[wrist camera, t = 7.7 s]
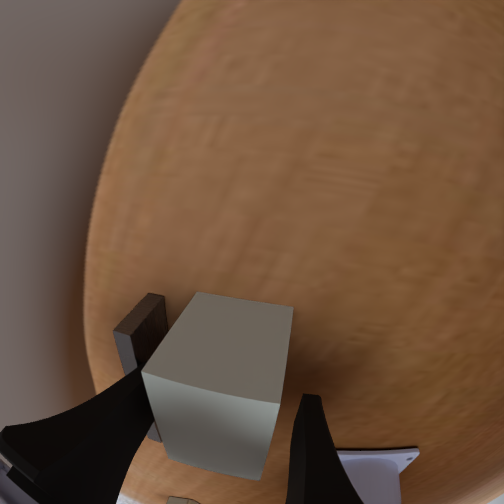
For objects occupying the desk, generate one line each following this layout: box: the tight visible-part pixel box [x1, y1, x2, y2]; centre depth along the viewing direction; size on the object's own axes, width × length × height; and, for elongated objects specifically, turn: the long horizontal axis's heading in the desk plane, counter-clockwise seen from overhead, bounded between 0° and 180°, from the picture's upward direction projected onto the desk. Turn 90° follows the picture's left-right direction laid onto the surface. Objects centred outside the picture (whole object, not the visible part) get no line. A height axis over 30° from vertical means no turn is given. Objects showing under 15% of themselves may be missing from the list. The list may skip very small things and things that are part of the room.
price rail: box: [113, 293, 168, 443], centre depth 12 cm, size 8×1×3 cm, turn 176°
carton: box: [141, 291, 294, 481], centre depth 10 cm, size 4×6×5 cm
